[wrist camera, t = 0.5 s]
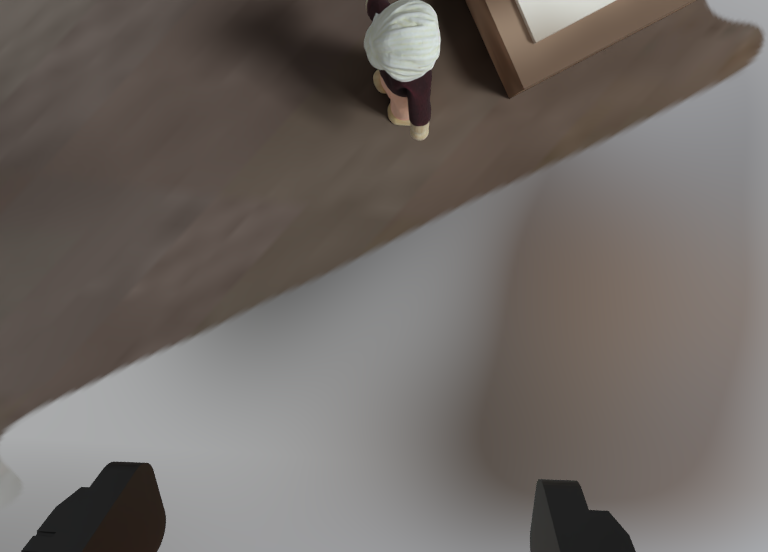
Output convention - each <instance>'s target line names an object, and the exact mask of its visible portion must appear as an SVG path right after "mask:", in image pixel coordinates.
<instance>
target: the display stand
mask: <svg viewBox="0 0 768 552" xmlns="http://www.w3.org/2000/svg"><path fill="white" fill-rule="evenodd" d="M465 1H466V3H467V6H468V8H469V10H470V12H471V15H472V17H473V19H474V21H475V24H476V26H477V28H478V30H479V32H480V35H481V37H482V39H483V41H484V44H485V46H486V48H487V50H488V53H489V55H490V57H491V59H492V61H493V64H494V66H495V68H496V70H497V73H498V75H499V77H500V79H501V82H502V84H503V86H504V88H505V90H506V93H507V95H508V97H509V99H510V98H512V97H514V96H516V95H518V94H519V93H521V92H523V91H525V90H527V89H529V88H531V87H533V86H535V85H537V84H539V83H540V82H542V81H544V80H546V79H548V78H550V77H552V76H554V75H556V74H558V73H560V72H561V71H563V70H565V69H567V68H569V67H571V66H573V65H575V64H577V63H579V62H581V61H582V60H584V59H586V58H588V57H590V56H592V55H594V54H596V53H598V52H600V51H602V50H604V49H605V48H607V47H609V46H611V45H613V44H615V43H617V42H619V41H621V40H623V39H625V38H626V37H628V36H630V35H632V34H634V33H636V32H638V31H640V30H642V29H644V28H646V27H647V26H649V25H651V24H653V23H655V22H657V21H659V20H661V19H663V18H665V17H667V16H668V15H670V14H672V13H674V12H676V11H678V10H680V9H682V8H684V7H685V6H687V5H689V4H691V3H692V2H694V1H696V0H465Z"/></svg>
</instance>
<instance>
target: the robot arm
mask: <svg viewBox="0 0 768 552" xmlns="http://www.w3.org/2000/svg"><path fill="white" fill-rule="evenodd" d="M165 526H166V515H165V510H164V507H163V503H162V499H161V496H160V492H159V489H158V485H157V482H156V478H155V474H154V471H153V468H152V466H151V465H150V464H149V463H134V462H111V463H109V464H108V465H106V467H105V468H104V469H103V470H102V471H101V473H100V474H99V475H98V477H97V478H96V479H95V481H94V482H93V483H92V485H91V486H90V487H81V488H80V489H78V490H77V491H76V492H75V493H73V494H72V495H71V496H69V497H68V498H67V499H66V500H64V501H63V502H62V503H61V504H59V505H58V506H57V507H56V508H55V509H54V510H53V511H52V513H51V514H50V515H49V516H48V518H47V519H46V520H45V522H44V523H43V524H42V526H41V527H40V528H39V529H38V530H37V535H36V536H33V537H32V538H31V539H30V541H29V542H28V543H27V545H26V546H25V547H24V548H23V550H22V551H21V552H157V551H158V549H159V547H160V545H161V542H162V539H163V536H164V532H165ZM530 551H531V552H636V551H635V549H634V547H633V544H632V541H631V539H630V536H629V535H628V533H627V532H626V531H625V530H624V529H623V528H622V526H621V525H620V524H619V523H618V522H617V521H616V520H615V518H614V517H613V516H612V515H611V514H610V513H609V511H595V510H589V509H588V506H587V504H586V501H585V498H584V495H583V492H582V489H581V486H580V485H579V483H578V482H577V481H571V480H545V479H539V480H538V481H537V485H536V492H535V500H534V508H533V515H532V523H531V531H530Z"/></svg>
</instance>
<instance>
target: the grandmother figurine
mask: <svg viewBox="0 0 768 552" xmlns="http://www.w3.org/2000/svg"><path fill="white" fill-rule="evenodd" d="M366 10H367V13H368V16H369V17H370V19H371V20H372V24H371V26H370V27H369V28H368V30H367V32H366V36H365V40H364V48H365V50H366V53H367V57H368V60H369V62H370V63H371V65H372V66H373V67H375V68H377V70H376V72H375V73H374V75H373V82H374V84H375V87H376V88H377V90H378V91H379V92H381V93H384V94H386V93H387V95H388V97H389V98H390V99H391V102H390V104H389V106H388V117H389V119H390V121H391V122H392V123H393V124H396V125H410V126H411V129H410V134H411V136H412V137H413V138H414V139H415V140H424V139H425V138H426V137H427V136H428V133H429V128H428V127H429V121H430V117H431V105H430V93H431V89H430V87H431V81H432V71H431V69H432V68H433V66H434V63H435V61H436V59H437V58H438V57H439V54H440V41H441V39H440V31H439V26H438V19H437V15H436V12H435V11H434V9H433V8H432V7H431V6H430V5H429V4H427V3H425V2H423V1H420V0H399V1H397V2H394V3H393V4H391V5H390V3H389V2H388V0H366Z"/></svg>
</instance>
